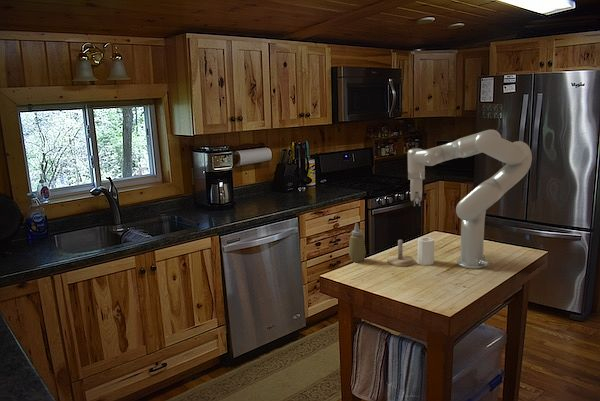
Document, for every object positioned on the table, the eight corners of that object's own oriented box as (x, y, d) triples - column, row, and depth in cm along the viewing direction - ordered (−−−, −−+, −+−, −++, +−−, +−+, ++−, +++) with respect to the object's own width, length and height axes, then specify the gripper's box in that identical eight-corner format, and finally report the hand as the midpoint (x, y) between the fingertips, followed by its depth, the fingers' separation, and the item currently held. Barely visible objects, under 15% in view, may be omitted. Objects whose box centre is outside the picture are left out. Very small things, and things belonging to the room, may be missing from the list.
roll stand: (419, 262, 220) (419, 240, 218) (400, 268, 213) (400, 245, 211) (399, 256, 230) (399, 235, 228) (381, 261, 223) (381, 240, 221)
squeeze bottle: (368, 259, 228) (368, 222, 224) (361, 264, 221) (360, 226, 217) (353, 256, 232) (352, 220, 228) (345, 261, 225) (344, 224, 222)
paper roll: (436, 262, 219) (437, 239, 216) (426, 266, 215) (426, 242, 212) (424, 258, 224) (425, 236, 222) (414, 262, 220) (414, 239, 218)
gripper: (408, 173, 230) (409, 208, 233) (407, 179, 214) (408, 216, 217) (424, 172, 228) (424, 207, 232) (425, 178, 212) (425, 216, 215)
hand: (417, 211), depth 224 cm, fingers open, 9 cm apart
